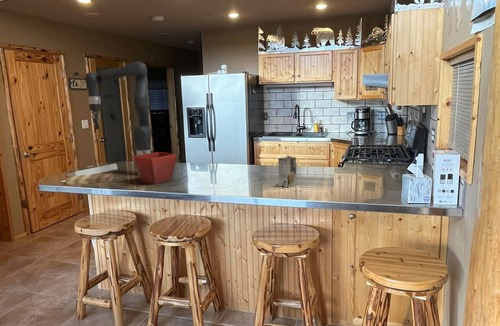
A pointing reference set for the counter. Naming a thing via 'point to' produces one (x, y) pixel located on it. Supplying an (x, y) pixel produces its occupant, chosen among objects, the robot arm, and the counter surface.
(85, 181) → the oak plank
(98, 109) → the robot arm
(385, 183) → the counter surface
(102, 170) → the decorative molding
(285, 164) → the coffee box
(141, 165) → the plant pot
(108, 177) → the wooden block
